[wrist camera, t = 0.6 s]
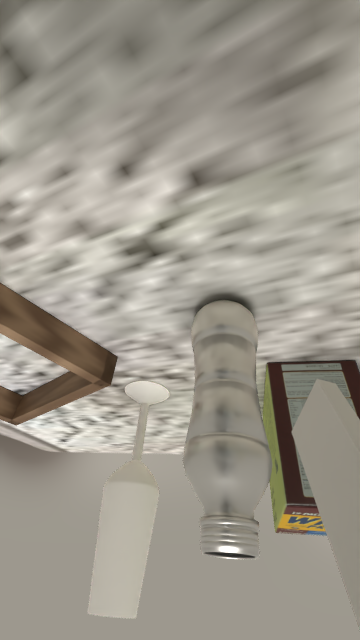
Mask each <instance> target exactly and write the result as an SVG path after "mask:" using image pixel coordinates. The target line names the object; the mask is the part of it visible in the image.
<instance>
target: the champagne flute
mask: <svg viewBox="0 0 360 640" xmlns="http://www.w3.org/2000/svg"><path fill="white" fill-rule="evenodd" d="M125 393H126V394H127V395H128V396H129V397H130V398H132V399H133V400H135V401H136V402H138V403H139V404H141V408H140V414H139V420H138V426H137V432H136V438H135V444H134V450H133V456H132V460H131V461H130V462H127V463H125V464H124V465H123V466H122V467H120V468H119V469H117V470H116V471H115V472H114V473H113V474H112V475H111V476H110V477H109V479H108V480H107V481H106V483H105V485H104V488H103V496H102V504H101V511H100V519H99V528H98V534H97V542H96V550H95V559H94V566H93V574H92V582H91V589H90V597H89V605H88V614H91V615H97V616H105V617H116V618H136V615H137V610H138V604H139V599H140V594H141V589H142V583H143V578H144V573H145V567H146V562H147V557H148V551H149V546H150V541H151V535H152V530H153V525H154V519H155V513H156V509H157V503H158V498H159V488H158V485H157V482H156V480H155V478H154V476H153V475H152V474H151V472H150V471H149V470H148V468H147V467H146V466H145V465H144V464H143V463H142V462H141V456H142V450H143V443H144V437H145V430H146V423H147V416H148V410H149V406H150V405H153V404H156V403H159V402H162V401H165V400H166V399H168V397H169V391H168V390H167V389H166V388H165V387H164V386H162V385H160V384H157V383H154V382H149V381H136V382H132V383H129V384H128V385H127V386H126V387H125Z"/></svg>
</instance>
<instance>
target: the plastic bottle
mask: <svg viewBox="0 0 360 640" xmlns="http://www.w3.org/2000/svg"><path fill="white" fill-rule="evenodd" d="M191 338H192V347H193V352H194V363H195V386H194V395H193V405H192V413H191V418H190V423H189V428H188V433H187V438H186V442H185V443H186V445H185V447H184V455H183V463H184V468H185V473H186V477H187V479H188V481H189V483H190V485H191V487H192V489H193V491H194V493H195V495H196V496H197V498H198V500H199V501H200V503H201V505H202V506H203V510H204V516H203V517H201V518H199V527H200V528H201V542H200V543H201V544H200V545H201V546H200V549H201V554H204V555H207V556H213V557H220V558H231V559H258V558H259V554H260V552H259V541H258V540H259V539H258V532H259V522H258V521H256V520H254V510H255V508H256V506H257V505H258V503H259V501H260V499H261V498H262V496H263V494H264V492H265V490H266V488H267V485H268V483H269V481H270V478H271V472H272V458H271V453H270V449H269V444H268V440H267V436H266V432H265V428H264V424H263V420H262V416H261V412H260V405H259V398H258V395H257V394H258V392H257V385H256V351H257V345H258V328H257V325H256V322H255V319H254V317H253V315H252V313H251V312H250V311H249V310H248V309H246V308H245V307H244V306H243V305H241V304H239V303H237V302H234V301H230V300H218V301H214V302H211V303H209V304H207V305H205V306H204V307H203V308H201V309H200V310H199V311H198V312H197V314H196V315H195V318H194V321H193V325H192V328H191Z"/></svg>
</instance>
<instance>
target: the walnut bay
mask: <svg viewBox="0 0 360 640" xmlns="http://www.w3.org/2000/svg"><path fill="white" fill-rule="evenodd" d="M0 333H1V334H3V335H5V336H6V337H8V338H10V339H12V340H14V341H16V342H18V343H19V344H21V345H23V346H25V347H27V348H29V349H31V350H32V351H34V352H36V353H38V354H40V355H42V356H44V357H45V358H47V359H49V360H51V361H53V362H55V363H56V364H58V365H60V366H62V367H64V368H66V369H68V370H69V371H70V372H68V373H66V374H64V375H62V376H60V377H58V378H56V379H54V380H52V381H51V382H49V383H47V384H45V385H43V386H41V387H39V388H37V389H35V390H33V391H31V392H29V393H27V394H25V395H24V396H21V395H19V394H17V393H15V392H12V391H10V390H8V389H6V388H3V387H1V386H0V419H1V420H3V421H6V422H8V423H11V424H14V425H19V424H21V423H23V422H26V421H28V420H30V419H33V418H35V417H37V416H40V415H42V414H44V413H47V412H49V411H51V410H54V409H56V408H58V407H61V406H63V405H65V404H68V403H70V402H72V401H75V400H77V399H79V398H82V397H84V396H86V395H89V394H91V393H93V392H96V391H98V390H100V389H103V388H105V387H107V386H110V385H111V382H112V378H113V374H114V370H115V366H116V362H117V358H118V357H117V356H115V355H113V354H112V353H110V352H109V351H107V350H106V349H104V348H102V347H101V346H99V345H98V344H96V343H94V342H93V341H91V340H90V339H88V338H87V337H85V336H83V335H82V334H80V333H79V332H77V331H75V330H74V329H72V328H71V327H69V326H67V325H66V324H64V323H63V322H61V321H60V320H58V319H56V318H55V317H53V316H52V315H50V314H48V313H47V312H45V311H44V310H42V309H41V308H39V307H37V306H36V305H34V304H33V303H31V302H29V301H28V300H26V299H25V298H23V297H22V296H20V295H18V294H17V293H15V292H14V291H12V290H10V289H9V288H7V287H6V286H4V285H3V284H1V283H0Z"/></svg>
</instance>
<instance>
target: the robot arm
mask: <svg viewBox="0 0 360 640" xmlns="http://www.w3.org/2000/svg"><path fill="white" fill-rule="evenodd" d="M292 435H293V438H294V441H295V444H296V447H297V449H298V452H299V455H300V458H301V461H302V464H303V467H304V470H305V473H306V476H307V479H308V481H309V484H310V487H311V490H312V493H313V496H314V499H315V502H316V505H317V508H318V510H319V513H320V516H321V519H322V522H323V525H324V528H325V531H326V534H327V537H328V540H329V542H330V545H331V548H332V551H333V554H334V557H335V560H336V563H337V566H338V569H339V572H340V574H341V577H342V580H343V583H344V586H345V589H346V592H347V595H348V598H349V601H350V604H351V606H352V609H353V612H354V615H355V618H356V621H357V624H358V627H359V630H360V419H359V418H358V416H357V415H356V413H355V412H354V410H353V409H352V407H351V406H350V404H349V403H348V401H347V400H346V398H345V397H344V395H343V394H342V392H341V391H340V389H339V388H338V386H337V385H336V383H332V382H328V381H324V380H320V379H316V382H315V384H314V386H313V388H312V390H311V392H310V394H309V396H308V398H307V400H306V402H305V404H304V407H303V409H302V411H301V413H300V415H299V417H298V419H297V421H296V423H295V425H294V427H293V430H292Z"/></svg>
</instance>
